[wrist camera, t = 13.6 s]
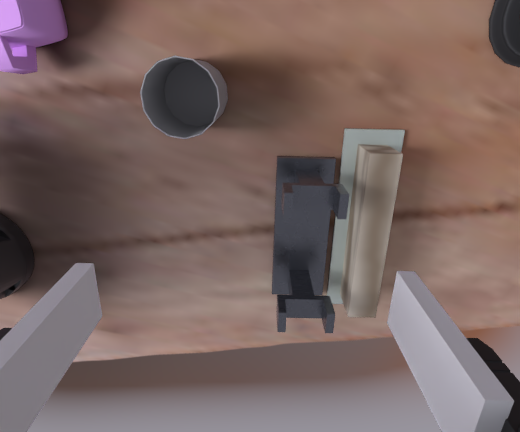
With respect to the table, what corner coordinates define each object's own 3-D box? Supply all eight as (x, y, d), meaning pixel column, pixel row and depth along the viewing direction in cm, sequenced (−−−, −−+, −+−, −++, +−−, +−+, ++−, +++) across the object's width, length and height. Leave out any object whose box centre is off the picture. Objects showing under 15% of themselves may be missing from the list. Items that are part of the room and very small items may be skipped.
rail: (339, 293, 58) (348, 316, 53) (357, 144, 49) (370, 153, 44) (364, 294, 58) (375, 317, 53) (387, 144, 49) (403, 154, 44)
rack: (271, 289, 59) (274, 341, 47) (277, 155, 50) (281, 179, 39) (321, 290, 59) (334, 342, 48) (334, 157, 50) (354, 181, 39)
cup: (240, 86, 47) (234, 90, 38) (206, 138, 50) (193, 153, 40) (184, 45, 45) (164, 38, 36) (152, 101, 48) (126, 107, 39)
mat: (326, 301, 59) (326, 303, 59) (344, 128, 49) (345, 128, 48) (374, 302, 59) (375, 304, 59) (403, 129, 49) (404, 130, 48)
